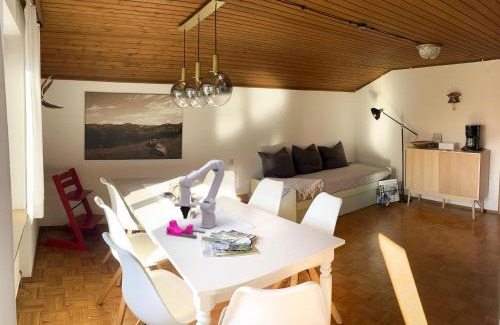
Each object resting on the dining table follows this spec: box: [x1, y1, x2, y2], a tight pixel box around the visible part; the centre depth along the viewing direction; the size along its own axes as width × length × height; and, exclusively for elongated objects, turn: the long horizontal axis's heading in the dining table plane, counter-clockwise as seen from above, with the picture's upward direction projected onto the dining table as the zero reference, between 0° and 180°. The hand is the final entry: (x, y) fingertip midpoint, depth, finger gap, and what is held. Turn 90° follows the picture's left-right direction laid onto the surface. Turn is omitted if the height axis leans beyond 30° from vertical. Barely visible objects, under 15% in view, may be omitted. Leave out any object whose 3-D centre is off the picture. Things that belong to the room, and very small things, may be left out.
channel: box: [181, 229, 206, 240], centre depth 236 cm, size 11×18×2 cm, turn 68°
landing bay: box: [201, 231, 232, 243], centre depth 228 cm, size 13×19×2 cm, turn 68°
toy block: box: [165, 219, 194, 238], centre depth 235 cm, size 15×6×8 cm, turn 65°
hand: (185, 218), depth 240 cm, fingers closed
